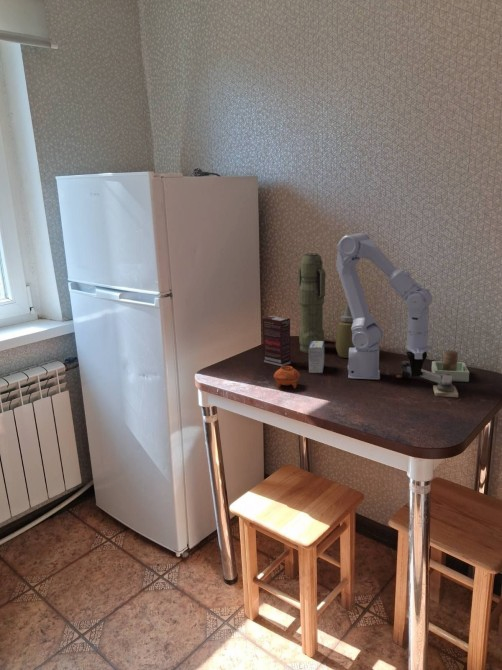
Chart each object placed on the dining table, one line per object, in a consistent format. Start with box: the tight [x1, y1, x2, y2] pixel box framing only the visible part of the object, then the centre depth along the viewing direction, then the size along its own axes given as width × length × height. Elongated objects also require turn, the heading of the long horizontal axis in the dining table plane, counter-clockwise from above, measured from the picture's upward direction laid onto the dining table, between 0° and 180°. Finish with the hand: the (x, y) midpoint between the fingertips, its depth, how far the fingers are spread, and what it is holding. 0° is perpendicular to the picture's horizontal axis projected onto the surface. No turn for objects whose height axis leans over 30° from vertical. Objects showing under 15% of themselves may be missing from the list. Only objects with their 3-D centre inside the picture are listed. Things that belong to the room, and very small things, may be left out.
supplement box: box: [262, 314, 292, 367], centre depth 181 cm, size 9×5×16 cm, turn 46°
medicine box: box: [308, 340, 325, 374], centre depth 174 cm, size 8×4×9 cm, turn 168°
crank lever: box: [400, 360, 453, 387], centre depth 157 cm, size 18×3×5 cm, turn 30°
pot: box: [273, 365, 301, 389], centre depth 160 cm, size 8×8×7 cm
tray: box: [431, 360, 470, 383], centre depth 165 cm, size 10×10×3 cm
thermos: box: [298, 253, 326, 354], centre depth 192 cm, size 9×12×35 cm
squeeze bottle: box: [335, 304, 355, 359], centre depth 186 cm, size 8×8×18 cm
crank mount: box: [395, 374, 459, 398], centre depth 157 cm, size 16×16×2 cm
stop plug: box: [442, 349, 459, 371], centre depth 164 cm, size 4×4×7 cm
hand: (415, 375), depth 158 cm, fingers closed, pressing on crank lever
